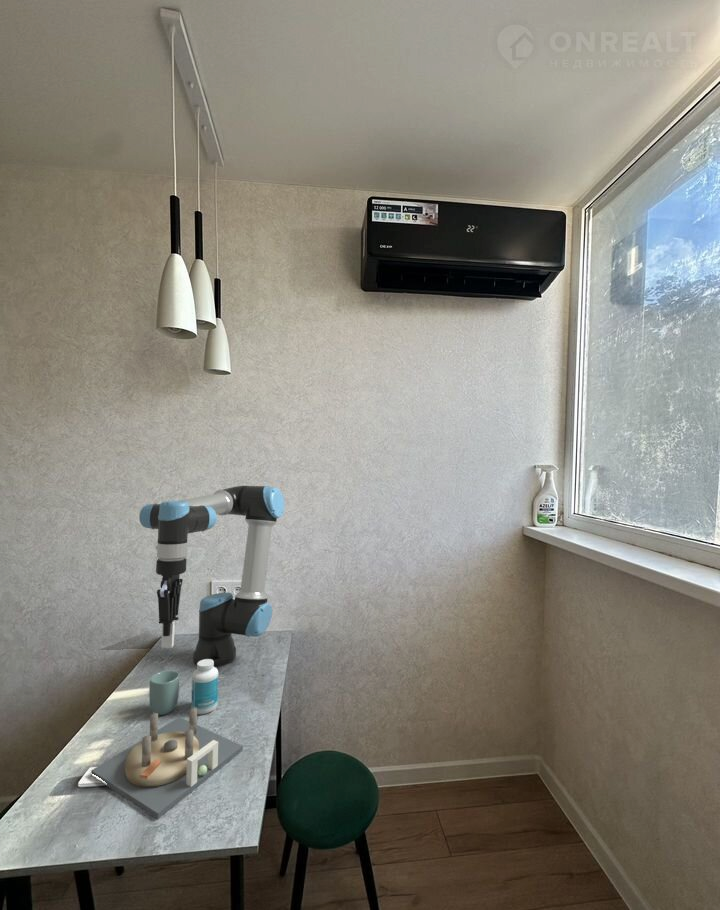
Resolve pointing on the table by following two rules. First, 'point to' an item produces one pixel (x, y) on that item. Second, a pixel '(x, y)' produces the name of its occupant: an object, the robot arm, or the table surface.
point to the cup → (164, 691)
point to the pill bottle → (205, 687)
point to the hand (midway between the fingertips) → (167, 646)
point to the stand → (166, 796)
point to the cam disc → (162, 754)
